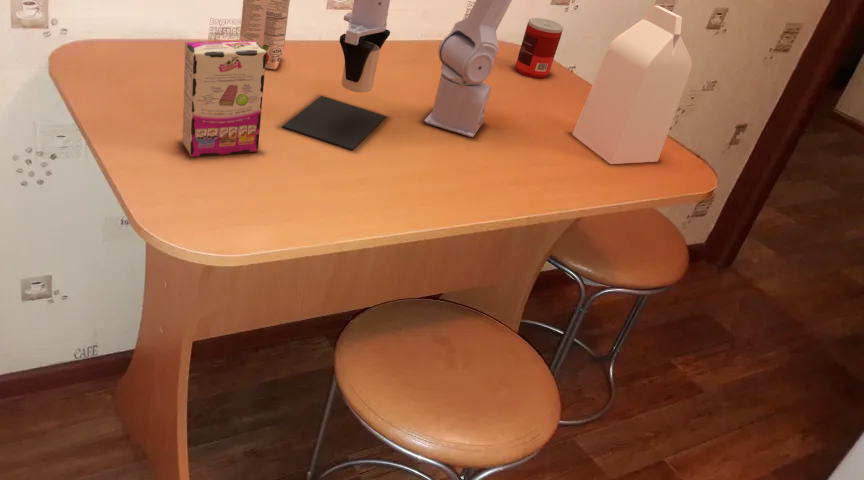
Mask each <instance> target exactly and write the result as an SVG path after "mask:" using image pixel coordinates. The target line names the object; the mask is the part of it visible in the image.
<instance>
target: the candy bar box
mask: <svg viewBox="0 0 864 480" xmlns="http://www.w3.org/2000/svg"><path fill="white" fill-rule="evenodd" d="M265 64H266V51H265V50H264V49H263V48H262V47H261V46H260V45H259V44H258V43H257V42H256V41H240V40H228V41H227V40H224V41H185V43H184V71H183V72H184V73H183V74H184V76H183V110H182V111H183V112H182V145H183V147H184V148H185V150H186V151H187V153H188V155H190V157H191V158H198V157H199V158H200V157H210V156H222V155H232V154H233V155H234V154H244V153H245V154H246V153H255V152H258V151H259V142H260V132H261V120H262V107H263V97H264V87H265V86H264V85H265V73H266V68H265Z"/></svg>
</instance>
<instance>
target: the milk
mask: <svg viewBox="0 0 864 480" xmlns="http://www.w3.org/2000/svg"><path fill="white" fill-rule="evenodd" d="M682 22H683V17H682V16H681V15H679V14H677V13H675V12H673V11H671V10H668V9H666V8H665V7H663V6H661V5H653V6H652V7H651V8H650V9H649V11H648V12H647V13H646V14H645V16H644V17H643V19H641V20H639V21H638V22H636V23H634V25H632V26H631V27H629V28H628V29H626V30H625V31H623V32H622V33H620V34H619V35H618V36H616V37H615V38H614V39H613V40H612V41H611V42H610V44H609V45H608V47H607V50H606V51H605V55H604V57H603V59H602V61H601V64H600V67H599V69H598V71H597V74H596V76H595V78H594V80H593V83H592V86H591V88H590V90H589V93H588V94H587V96H586V100H585V102H584V105H583V106H582V110H581V111H580V115H579V117H578V119H577V121H576V124H575V126H574V129H573V131H572V134H571V135H572V137H574V138H576V139H577V140H578V141H580V142H581V143H582V144H583V145H585V147H588V149H590V150H591V151H593V152H594V153H595V154H597V156H599V157H600V158H601V159H603V160H604V161H606V162H607V163H608V164H610V165H618V164H620V165H622V164H637V163H639V164H640V163H655V162H656V163H658V162H659V159H660V157H661V153H662V151H663V148H664V145H665V143H666V140H667V137H668V135H669V131H670V129H671V126H672V123H673V121H674V118H675V115H676V113H677V110H678V107H679V104H680V101H681V99H682V97H683V94H684V90H685V88H686V85H687V82H688V79H689V77H690V74H691V71H692V69H693V67H692V66H693V62H692V57H691V55H690V53H689V51H688V48H687V47H686V45H685V42H684V41H683V38H682V36H681V35H682V34H681V31H682Z"/></svg>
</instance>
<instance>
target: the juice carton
mask: <svg viewBox="0 0 864 480" xmlns="http://www.w3.org/2000/svg"><path fill="white" fill-rule="evenodd" d="M290 1H291V0H242V10H241V21H240V34H239V41H256V42H257V43H258V44H259V45H260V46H261V47H262V48H263V49H264V50H265V51H266V64H265V69H269V70H277V69H278V66H279V65H280V62H281V59H282V57H283V53H284V51H285V50H284V49H285V45H286V44H285V43H286V35H287V28H288V27H287V26H288V19H289V10H290Z"/></svg>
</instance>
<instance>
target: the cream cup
mask: <svg viewBox="0 0 864 480" xmlns="http://www.w3.org/2000/svg"><path fill="white" fill-rule="evenodd" d="M366 42H367V41H366ZM368 43H371V42H368ZM371 44H373V43H371ZM374 45H375V44H374ZM380 51H381V49H380V48H379V47H378V46H377V45H375V47H374V48H373V49H372V51H371V52H370V54H369V56H368V58H367V60H366V63H365V66H364V69H363V72H362V75H361V78H360V80H359V82H357V83H356V82H353V81H350V80H347V79H346V73H345V62H344V63H343V70H342V77H341V82H340V83H341V84H340V85H341V86H342V87H343V88H344V89H346V90H348V91H350V92H354V93H362V94H363V93H369V92H371V91H373V87H374V82H375V77H376V72H377V66H378V62H379V55H380Z"/></svg>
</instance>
